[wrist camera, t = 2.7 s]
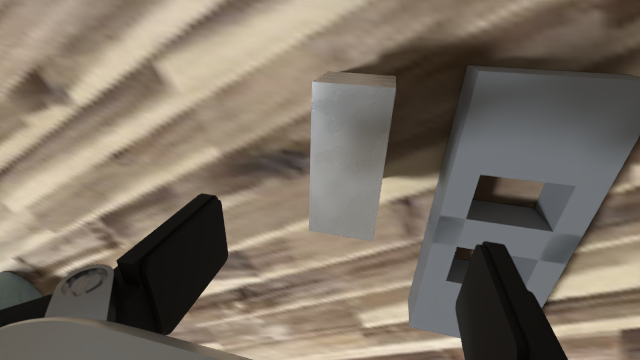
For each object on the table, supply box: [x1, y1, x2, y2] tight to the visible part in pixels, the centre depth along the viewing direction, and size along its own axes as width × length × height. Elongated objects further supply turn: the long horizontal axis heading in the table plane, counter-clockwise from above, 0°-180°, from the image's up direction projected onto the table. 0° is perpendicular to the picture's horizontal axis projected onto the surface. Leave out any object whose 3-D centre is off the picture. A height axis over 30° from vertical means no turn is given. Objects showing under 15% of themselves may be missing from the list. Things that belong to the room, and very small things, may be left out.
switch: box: [408, 65, 640, 338], centre depth 22 cm, size 22×9×3 cm, turn 178°
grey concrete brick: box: [309, 71, 396, 241], centre depth 19 cm, size 9×4×8 cm, turn 178°
